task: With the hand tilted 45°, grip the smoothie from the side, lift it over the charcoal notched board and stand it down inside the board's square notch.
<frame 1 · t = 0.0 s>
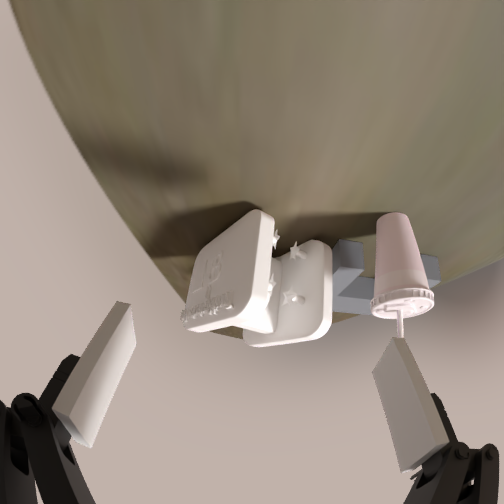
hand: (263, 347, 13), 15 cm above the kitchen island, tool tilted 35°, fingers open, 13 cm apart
notched board: (367, 274, 40), on the kitchen island
cable organizer: (258, 240, 35), on the kitchen island
smoothie: (392, 220, 28), on the kitchen island
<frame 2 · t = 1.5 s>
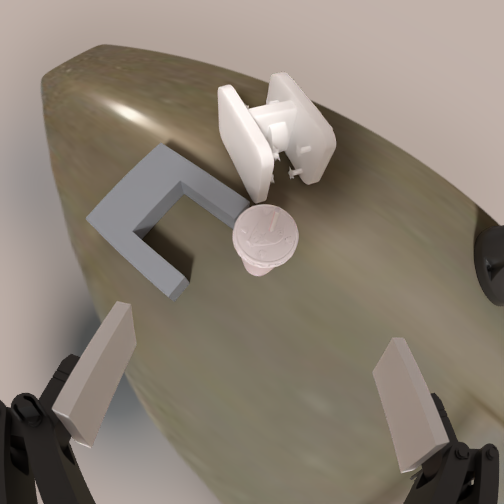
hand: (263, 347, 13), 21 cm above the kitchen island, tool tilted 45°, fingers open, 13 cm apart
notched board: (167, 220, 37), on the kitchen island
cable organizer: (266, 159, 42), on the kitchen island
smoothie: (257, 262, 37), on the kitchen island
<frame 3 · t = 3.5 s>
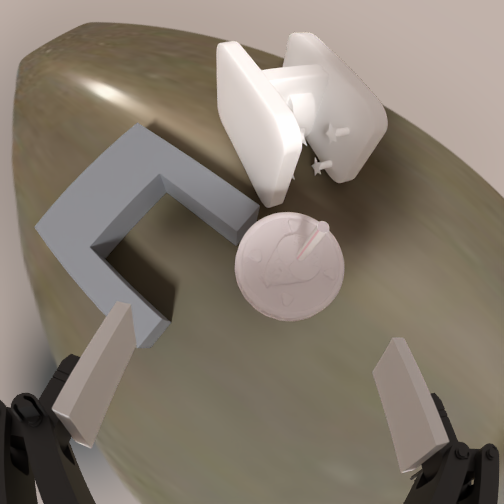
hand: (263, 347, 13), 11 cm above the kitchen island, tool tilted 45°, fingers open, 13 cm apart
notched board: (142, 230, 26), on the kitchen island
cable organizer: (280, 147, 30), on the kitchen island
smoothie: (269, 293, 25), on the kitchen island
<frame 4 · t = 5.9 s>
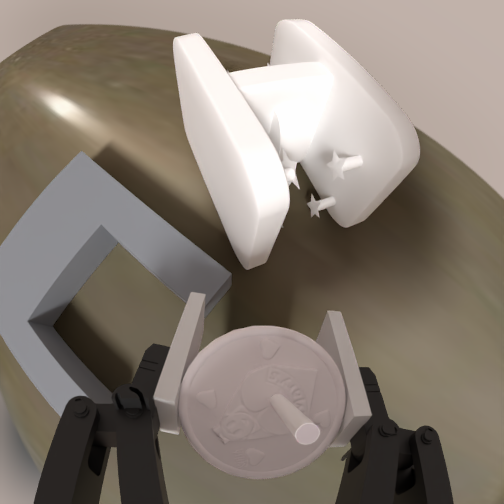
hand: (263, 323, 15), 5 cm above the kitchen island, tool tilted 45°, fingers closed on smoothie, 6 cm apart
notched board: (90, 293, 19), on the kitchen island
cable organizer: (266, 175, 24), on the kitchen island
smoothie: (248, 378, 18), on the kitchen island, touching gripper
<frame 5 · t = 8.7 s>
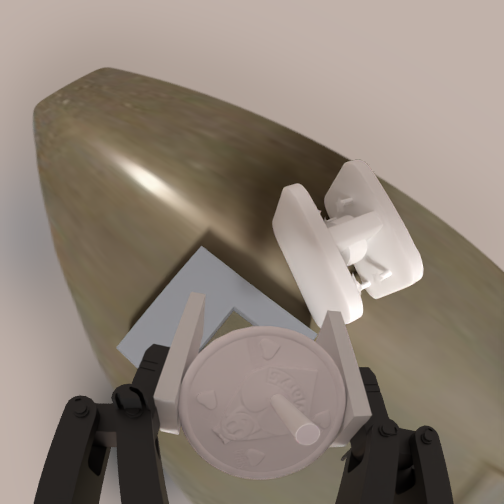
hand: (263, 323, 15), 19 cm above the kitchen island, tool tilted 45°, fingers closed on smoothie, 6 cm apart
notched board: (216, 345, 32), on the kitchen island
cable organizer: (325, 260, 36), on the kitchen island
smoothie: (248, 379, 18), point 13 cm above the kitchen island, touching gripper
when the fingers open (6 cm above the kitchen island, at t = 11.9 s): smoothie drops 1 cm, on the kitchen island.
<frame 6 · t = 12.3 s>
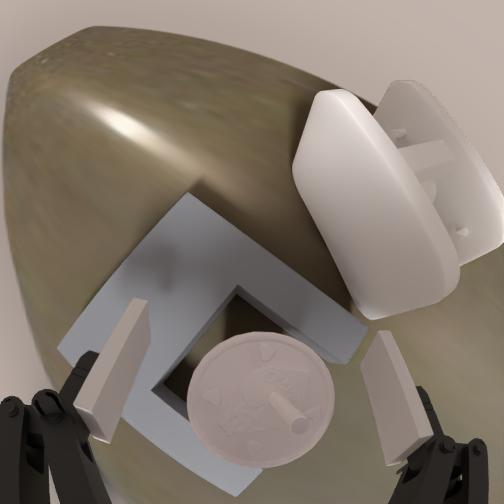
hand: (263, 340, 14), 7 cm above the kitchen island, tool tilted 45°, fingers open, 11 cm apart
notched board: (209, 348, 20), on the kitchen island
cable organizer: (366, 224, 25), on the kitchen island
smoothie: (246, 377, 20), on the kitchen island
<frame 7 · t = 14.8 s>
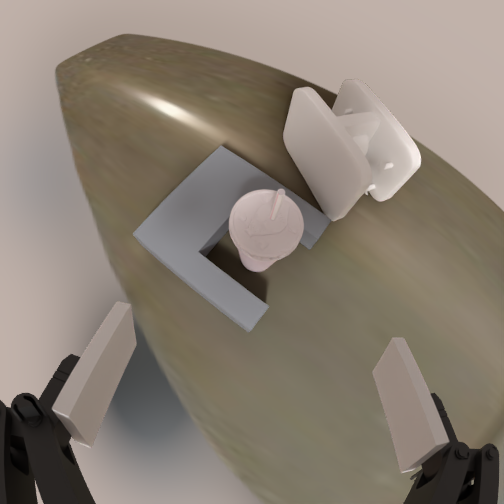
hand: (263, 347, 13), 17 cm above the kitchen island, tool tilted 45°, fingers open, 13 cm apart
notched board: (232, 237, 34), on the kitchen island
cable organizer: (332, 171, 38), on the kitchen island
smoothie: (256, 256, 33), on the kitchen island
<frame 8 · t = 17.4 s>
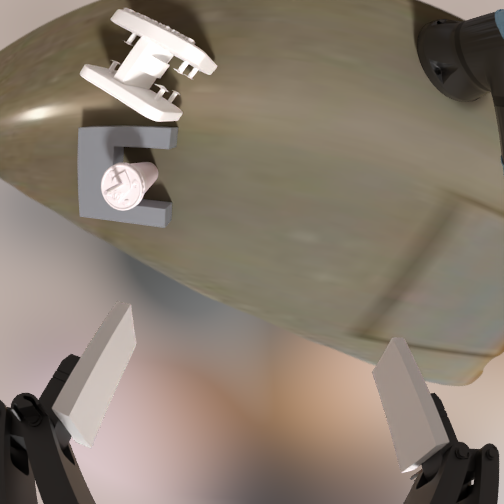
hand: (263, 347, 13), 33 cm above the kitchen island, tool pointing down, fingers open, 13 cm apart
notched board: (128, 171, 42), on the kitchen island
cable organizer: (163, 70, 35), on the kitchen island
smoothie: (147, 172, 42), on the kitchen island
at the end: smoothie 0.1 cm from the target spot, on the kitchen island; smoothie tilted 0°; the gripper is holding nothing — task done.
